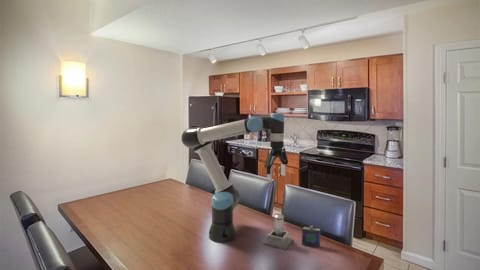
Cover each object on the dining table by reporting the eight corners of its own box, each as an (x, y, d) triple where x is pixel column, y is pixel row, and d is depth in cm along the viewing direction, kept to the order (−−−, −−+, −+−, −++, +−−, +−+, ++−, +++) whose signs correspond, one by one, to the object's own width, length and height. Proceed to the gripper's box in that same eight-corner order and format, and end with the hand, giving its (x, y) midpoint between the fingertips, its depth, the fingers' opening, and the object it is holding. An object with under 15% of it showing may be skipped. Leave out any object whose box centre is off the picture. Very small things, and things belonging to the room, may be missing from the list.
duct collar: (263, 244, 137) (263, 235, 137) (271, 235, 148) (272, 226, 148) (285, 250, 132) (285, 241, 131) (292, 240, 142) (292, 231, 142)
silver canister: (279, 244, 136) (280, 218, 135) (271, 240, 140) (272, 215, 138) (284, 240, 140) (285, 215, 139) (277, 237, 143) (277, 212, 142)
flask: (319, 245, 137) (320, 225, 136) (320, 247, 134) (320, 227, 133) (301, 243, 139) (302, 223, 138) (301, 245, 136) (302, 226, 135)
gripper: (269, 143, 137) (268, 182, 139) (294, 139, 155) (293, 174, 157) (258, 141, 142) (257, 180, 144) (283, 138, 160) (283, 172, 162)
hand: (276, 177), depth 150 cm, fingers open, 13 cm apart
